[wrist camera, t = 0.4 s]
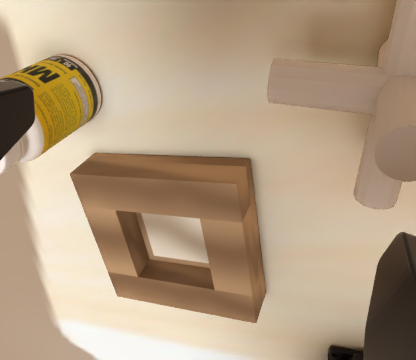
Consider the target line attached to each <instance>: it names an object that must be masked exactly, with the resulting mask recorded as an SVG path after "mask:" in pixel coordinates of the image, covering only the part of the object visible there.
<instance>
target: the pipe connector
mask: <svg viewBox="0 0 416 360" xmlns="http://www.w3.org/2000/svg"><path fill="white" fill-rule="evenodd" d="M268 101H269V103H277V104H286V105H294V106H303V107H311V108H320V109H328V110H337V111H345V112H354V113H362V114H371V118H370V122H369V127H368V131H367V136H366V140H365V145H364V149H363V154H362V158H361V163H360V167H359V172H358V176H357V180H356V185H355V189H354V196H355V199H356V200H357V201H358V202H360V203H361V204H362V205H364V206H367V207H370V208H373V209H388V208H391V207H394V205H395V203H396V201H397V198H398V194H399V191H400V188H401V184H402V181H408V182H410V181H416V0H397V2H396V6H395V11H394V15H393V20H392V24H391V29H390V33H389V38H388V40H386V41H385V42H384V43H383V45H382V46H381V48H380V50H379V53H378V67H371V66H359V65H347V64H335V63H323V62H311V61H299V60H287V59H274V60H273V63H272V65H271V70H270V74H269V81H268Z"/></svg>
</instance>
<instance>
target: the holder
mask: <svg viewBox="0 0 416 360" xmlns="http://www.w3.org/2000/svg"><path fill="white" fill-rule="evenodd" d="M70 176H71V178H72V181H73V183H74V186H75V189H76V191H77V194H78V196H79V199H80V201H81V204H82V207H83V209H84V212H85V214H86V217H87V219H88V222H89V225H90V227H91V230H92V232H93V235H94V237H95V240H96V242H97V245H98V248H99V250H100V253H101V255H102V258H103V260H104V263H105V266H106V268H107V271H108V273H109V276H110V278H111V281H112V284H113V286H114V289H115V291H116V294H117V296H119V297H124V298H129V299H134V300H140V301H145V302H150V303H155V304H160V305H165V306H170V307H175V308H181V309H186V310H191V311H196V312H201V313H206V314H211V315H217V316H222V317H227V318H232V319H237V320H242V321H247V322H252V323H256V322H257V319H258V316H259V313H260V310H261V306H262V303H263V300H264V297H265V293H266V290H265V281H264V272H263V264H262V255H261V247H260V238H259V230H258V221H257V212H256V204H255V195H254V187H253V178H252V170H251V161H250V159H249V158H220V157H191V156H162V155H134V154H105V153H94V154H93V155H92V156H91V157H89V158H88V159H87V160H86V161H85V162H83V163H82V164H81V165H80V166H79V167H77V168H76V169H75V170H74V171H73V172H72V173H70Z"/></svg>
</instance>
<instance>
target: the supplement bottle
mask: <svg viewBox="0 0 416 360" xmlns="http://www.w3.org/2000/svg"><path fill="white" fill-rule="evenodd" d="M5 81H18V82H20V83H23V84H25V85H28V86H30V87H31V88H32V90H33V92H34V103H35V121H34V123H33V125H32V127H31V128H30V129H29V130H28V131H27V132H26V133H25V134H24V135H23V136H22V138H21V139H20V140H19V141H18V142H17V143H16V144H15V145H14V146H13V147H12V148H11V150H10V151H9V152H8V153H7V154H6V155H5V156H4V157H3V158H2V159H1V160H0V174H1V173H3V172H5V171H6V170H8V169H9V168H11V167H13V166H14V165H16V164H17V163H18V162H27V161H31V160H33V159H35V158H37V157H39V156H40V155H41V154H43V153H44V152H46V151H47V150H48V149H50V148H51V147H53V146H54V145H55V144H57V143H58V142H60V141H61V140H63V139H64V138H65V137H67V136H68V135H70V134H71V133H73V132H74V131H75V130H77V129H78V128H80V127H81V126H83V125H84V124H85V123H87V122H89V121H90V120H91V119H93V118H94V117H95V116H96V115H97V113H98V111H99V109H100V106H101V93H100V89H99V86H98V83H97V81H96V79H95V77H94V76H93V74H92V73H91V71H90V70H89V69H88V68H87V67H86V66H85V65H84V64H83V63H81V62H80V61H79V60H77V59H75V58H73V57H70V56H66V55H56V56H52V57H50V58H47V59H45V60H43V61H40V62H38V63H36V64H33V65H31V66H29V67H26V68H24V69H22V70H19V71H17V72H15V73H12V74H10V75H8V76H5V77H3V78H1V79H0V82H5Z"/></svg>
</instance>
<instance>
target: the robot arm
mask: <svg viewBox="0 0 416 360" xmlns="http://www.w3.org/2000/svg"><path fill="white" fill-rule="evenodd" d="M34 121H35V103H34V92H33V90H32V88H31V87H30V86H28V85H25V84H23V83H20V82H18V81H5V82H0V160H1V159H2V158H3V157H4V156H5V155H6V154H7V153H8V152H9V151H10V150H11V148H12V147H13V146H14V145H15V144H16V143H17V142H18V141H19V140H20V139H21V138H22V136H23V135H24V134H25V133H26V132H27V131H28V130H29V129H30V128H31V127H32V125H33V123H34ZM328 360H416V237H415V236H413V235H410V234H407V233H405V232H401V233H399V234H398V235H397V236H396V237H395V238H394V240H393V241H392V243H391V244H390V245H389V247H388V248H387V250H386V251H385V252H384V254H383V255H382V257H381V258H380V260H379V263H378V266H377V270H376V275H375V280H374V286H373V291H372V296H371V301H370V306H369V311H368V317H367V322H366V329H365V340H364V353H362V352H357V351H352V350H347V349H343V348H338V347H330V348H329V350H328Z"/></svg>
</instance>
